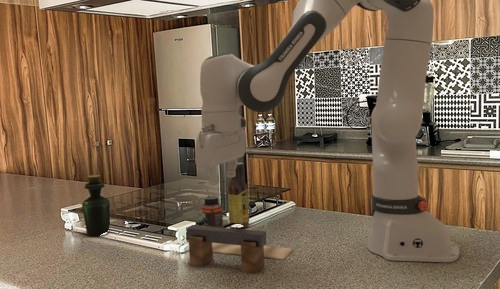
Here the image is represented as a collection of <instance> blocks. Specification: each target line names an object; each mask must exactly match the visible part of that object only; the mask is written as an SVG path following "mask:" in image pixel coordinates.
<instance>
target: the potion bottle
mask: <svg viewBox="0 0 500 289" xmlns="http://www.w3.org/2000/svg"><path fill="white" fill-rule="evenodd" d="M87 181H88V182H87V183H85V185H84V189H86V190H88V193H89V197H88V198H86V199H85V200H84V201H83V202H82V205H81V206H82V211H83V212H82V213H83V218H84V224H85V230H86V234H87V236H89V237H91V238H93V237H94V238H96V237H101V236H100V235H101V234H103V233H105V232H107V231H108V230H109V231H110V220H111V219H110V214H111V213H110V212H111V211H110V208H111V207H110V206H111V203H110V202H111V201H110V200H109V199H108V198H106V197H105V196H102V195H101V192H102V189H103V188H105V187H106V186H105V183H104V182H103V181H101V175H100V174H91V175H88V176H87Z"/></svg>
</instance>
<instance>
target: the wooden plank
mask: <svg viewBox="0 0 500 289" xmlns="http://www.w3.org/2000/svg"><path fill="white" fill-rule="evenodd" d="M212 249H213V254H222V255H231V256H240V257H241V245H232V244H221V243H212ZM293 251H294V248H290V247H281V246H268V245H264V259H268V260H277V261H278V260H279V261H284V260H285V259H286V258H287V257H288V256H289V255H290V254H292V252H293Z"/></svg>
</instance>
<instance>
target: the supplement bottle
mask: <svg viewBox="0 0 500 289" xmlns="http://www.w3.org/2000/svg"><path fill="white" fill-rule="evenodd" d="M222 206H223V205H222V204H221V203H219V197H218V196H217V195H210V196H206V197H204V204H202V206H201V218H202V219H203V220H204V225H203V224H202V226H209V227H221V228H224V221H223V219H224V218H223V207H222ZM203 220H202V221H203Z"/></svg>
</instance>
